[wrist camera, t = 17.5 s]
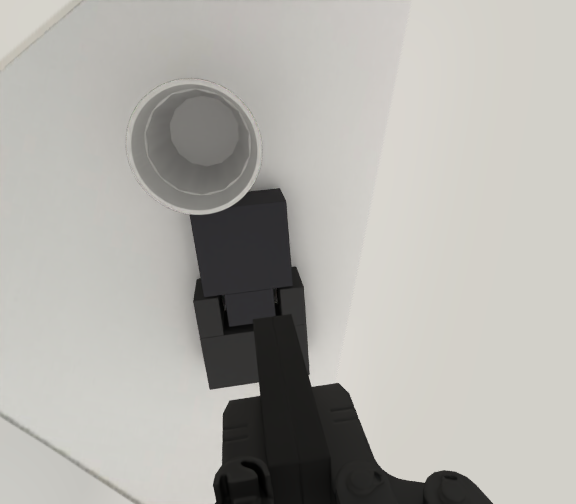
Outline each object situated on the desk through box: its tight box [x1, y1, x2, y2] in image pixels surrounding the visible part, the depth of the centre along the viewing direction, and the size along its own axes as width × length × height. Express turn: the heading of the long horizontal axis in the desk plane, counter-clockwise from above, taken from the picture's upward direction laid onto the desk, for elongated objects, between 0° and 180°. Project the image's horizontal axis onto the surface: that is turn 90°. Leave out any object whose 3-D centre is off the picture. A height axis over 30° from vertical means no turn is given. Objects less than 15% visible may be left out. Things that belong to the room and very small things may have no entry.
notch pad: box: [193, 267, 310, 389], centre depth 41 cm, size 10×10×4 cm
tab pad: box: [190, 189, 293, 327], centre depth 38 cm, size 11×8×4 cm
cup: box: [126, 78, 262, 215], centre depth 30 cm, size 8×8×12 cm
